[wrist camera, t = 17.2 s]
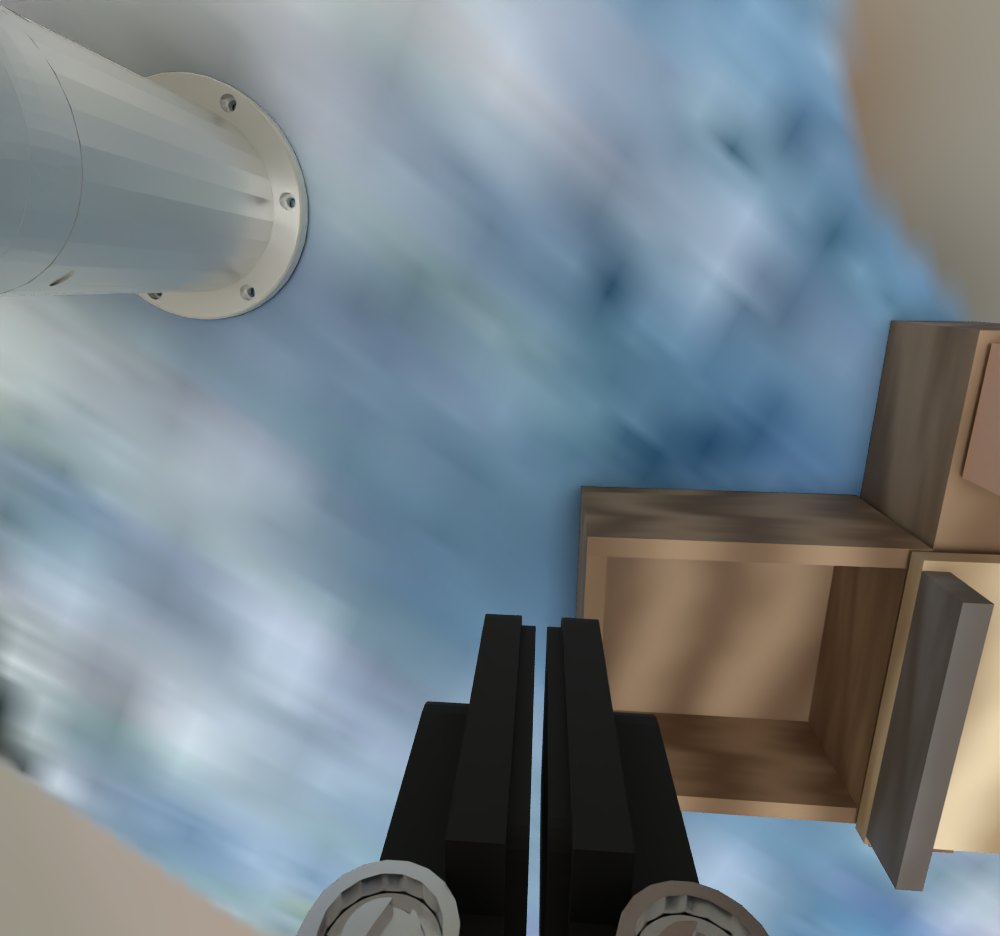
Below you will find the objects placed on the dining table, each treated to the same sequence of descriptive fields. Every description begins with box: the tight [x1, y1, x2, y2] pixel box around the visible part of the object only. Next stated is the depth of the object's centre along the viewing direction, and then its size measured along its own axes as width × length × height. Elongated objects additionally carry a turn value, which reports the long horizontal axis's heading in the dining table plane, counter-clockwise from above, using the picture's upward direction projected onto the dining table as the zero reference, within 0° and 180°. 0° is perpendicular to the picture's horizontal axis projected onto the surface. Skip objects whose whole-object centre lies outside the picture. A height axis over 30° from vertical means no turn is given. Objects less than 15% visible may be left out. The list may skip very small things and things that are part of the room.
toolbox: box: [576, 321, 1000, 853], centre depth 35 cm, size 21×28×8 cm
